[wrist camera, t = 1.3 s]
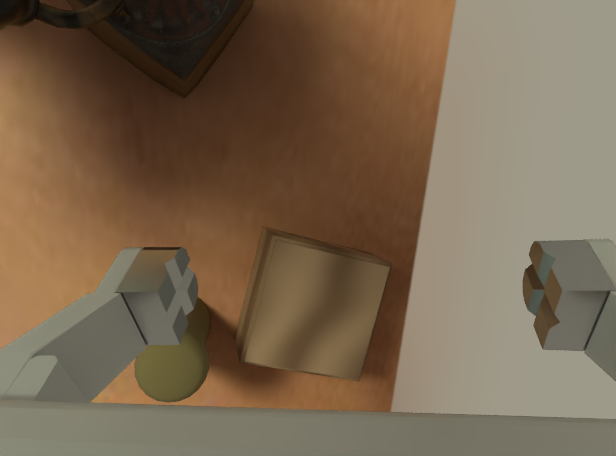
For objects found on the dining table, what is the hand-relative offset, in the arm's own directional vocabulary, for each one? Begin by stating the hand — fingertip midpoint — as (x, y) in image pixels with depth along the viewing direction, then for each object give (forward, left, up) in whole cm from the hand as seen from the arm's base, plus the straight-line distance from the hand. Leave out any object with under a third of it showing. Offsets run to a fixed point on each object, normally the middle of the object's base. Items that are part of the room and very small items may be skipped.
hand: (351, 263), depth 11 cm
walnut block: (+9, -8, -32) cm, 34 cm away
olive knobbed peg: (-2, -13, -32) cm, 35 cm away
